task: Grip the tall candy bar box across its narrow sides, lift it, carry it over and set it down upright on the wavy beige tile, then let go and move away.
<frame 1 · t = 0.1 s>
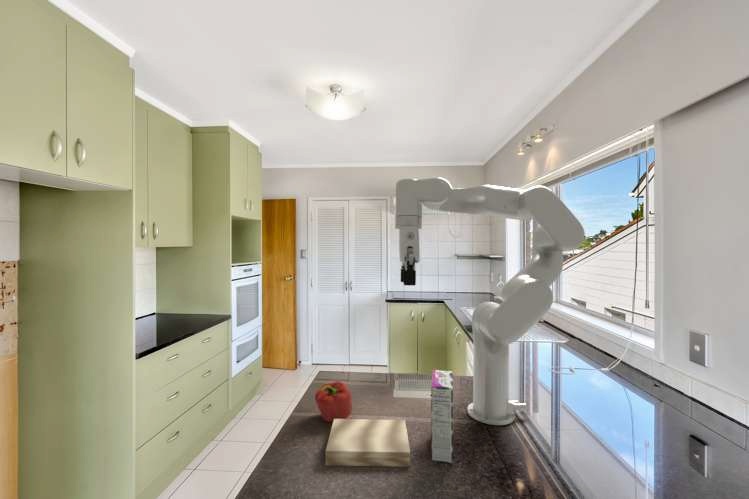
hand: (407, 283, 96), 37 cm above the counter, tool pointing down, fingers open, 9 cm apart
vegetable: (333, 419, 92), on the counter
candy bar box: (441, 449, 79), on the counter
wavy beige tile: (368, 447, 79), on the counter
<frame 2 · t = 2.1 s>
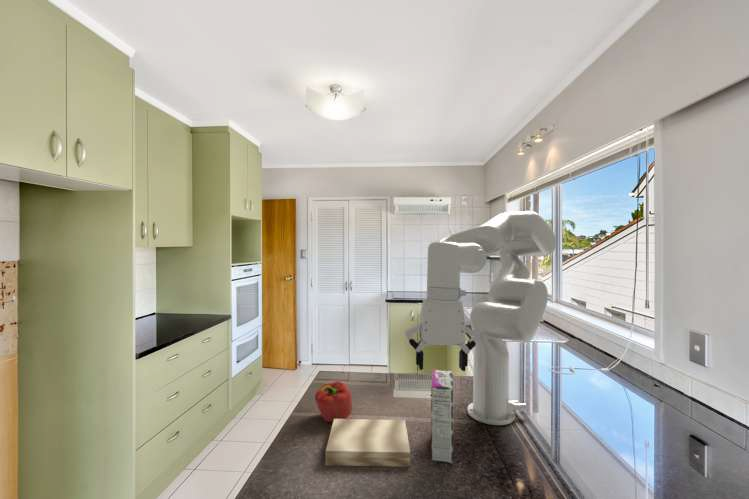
hand: (441, 368, 78), 19 cm above the counter, tool pointing down, fingers open, 9 cm apart
nothing on the counter moved.
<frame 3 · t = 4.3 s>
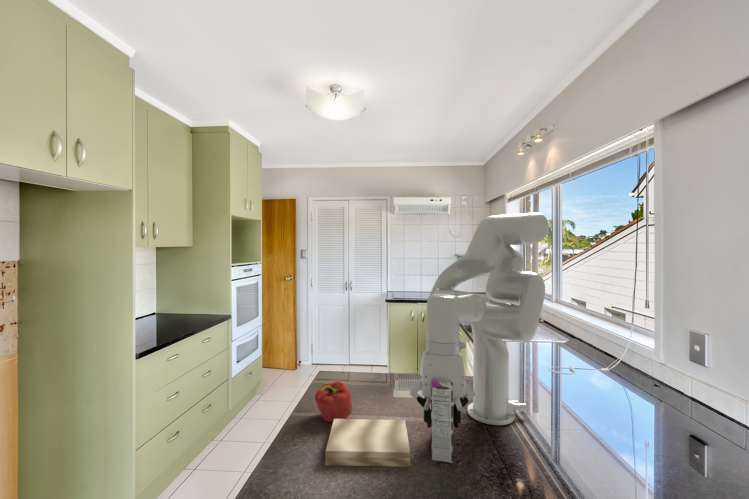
hand: (441, 424, 79), 6 cm above the counter, tool pointing down, fingers closed on candy bar box, 5 cm apart
candy bar box: (441, 449, 79), on the counter, touching gripper
everything else where it was.
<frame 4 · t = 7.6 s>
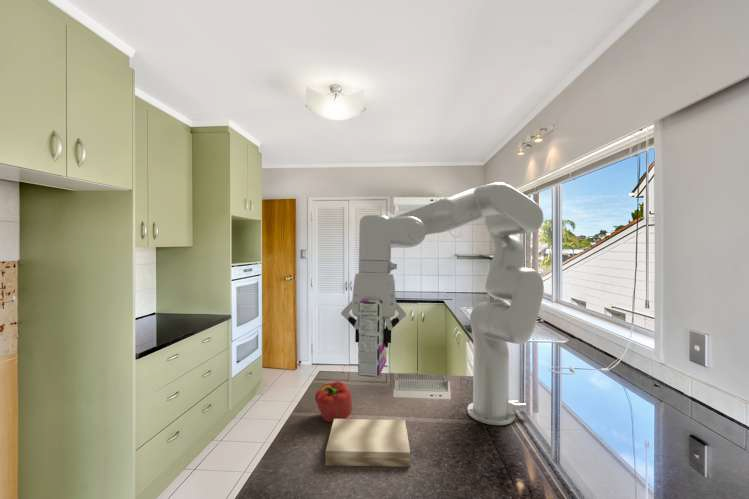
hand: (373, 344, 79), 24 cm above the counter, tool pointing down, fingers closed on candy bar box, 5 cm apart
candy bar box: (372, 369, 79), point 18 cm above the counter, touching gripper
everything else where it was.
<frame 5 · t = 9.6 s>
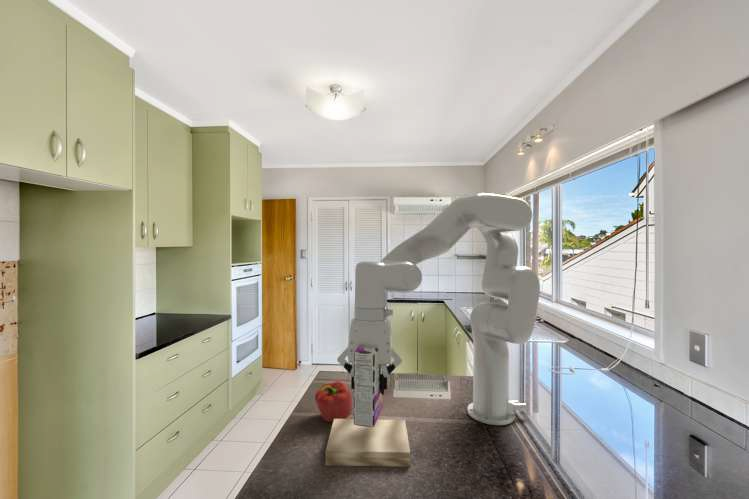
hand: (369, 391, 79), 13 cm above the counter, tool pointing down, fingers closed on candy bar box, 5 cm apart
candy bar box: (368, 416, 79), point 7 cm above the counter, touching gripper
everything else where it was.
when the fingers open (10 cm above the counter, at t = 11.1 s): candy bar box drops 1 cm, resting on wavy beige tile.
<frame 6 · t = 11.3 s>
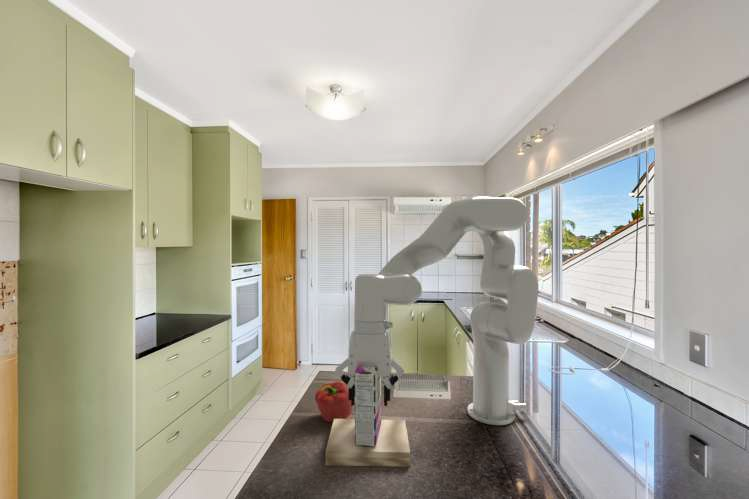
hand: (369, 402, 79), 10 cm above the counter, tool pointing down, fingers open, 7 cm apart
candy bar box: (368, 434, 79), point 3 cm above the counter, touching wavy beige tile
everything else where it was.
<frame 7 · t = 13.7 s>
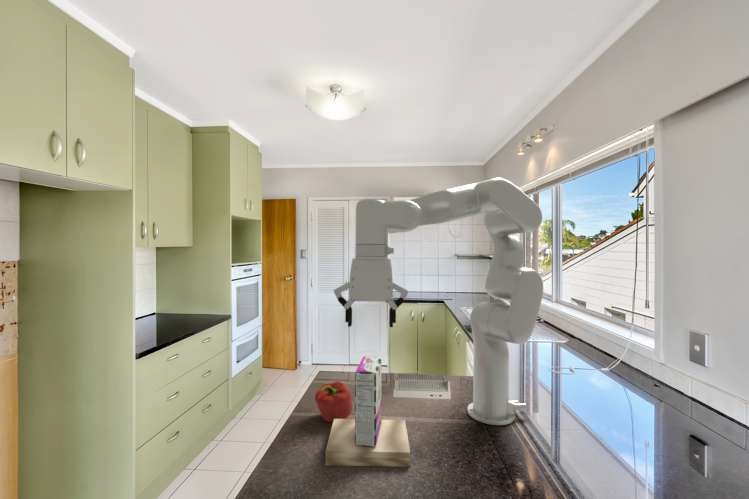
hand: (370, 325, 79), 28 cm above the counter, tool pointing down, fingers open, 9 cm apart
nothing on the counter moved.
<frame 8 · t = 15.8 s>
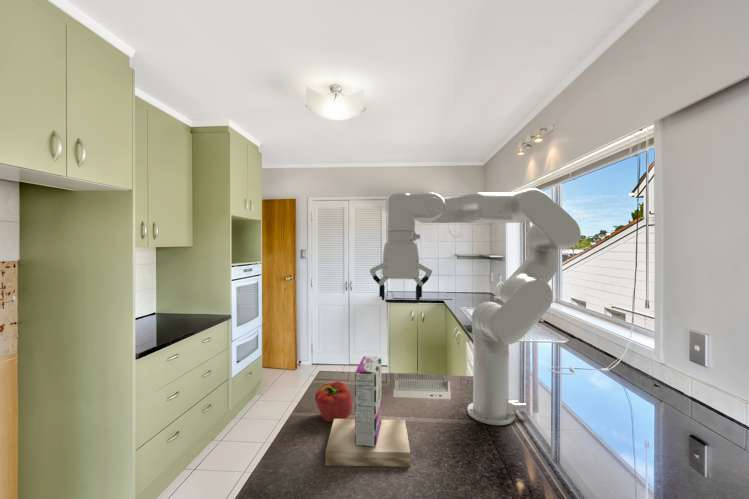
hand: (400, 299, 94), 32 cm above the counter, tool pointing down, fingers open, 9 cm apart
nothing on the counter moved.
at the end: candy bar box inside the target area on the wavy beige tile (0.1 cm from its centre), point 2.8 cm above the wavy beige tile's base; candy bar box tilted 0°; the gripper is holding nothing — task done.
